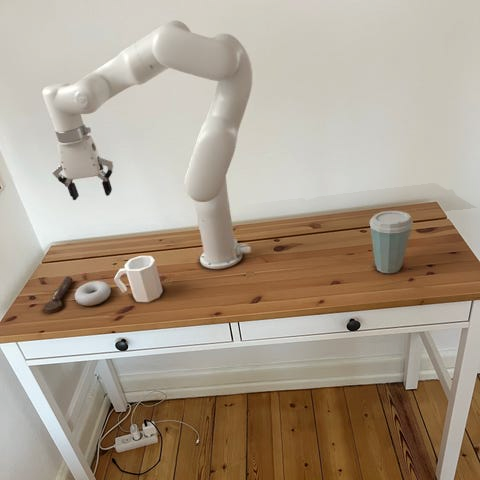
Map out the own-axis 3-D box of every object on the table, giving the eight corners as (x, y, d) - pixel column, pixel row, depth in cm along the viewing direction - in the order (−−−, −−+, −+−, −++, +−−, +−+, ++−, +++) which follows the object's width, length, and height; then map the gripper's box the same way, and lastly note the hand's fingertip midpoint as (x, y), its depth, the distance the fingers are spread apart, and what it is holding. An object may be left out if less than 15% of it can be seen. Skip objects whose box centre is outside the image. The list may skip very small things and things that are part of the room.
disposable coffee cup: (362, 263, 147) (362, 212, 138) (398, 254, 148) (400, 203, 139) (379, 281, 138) (380, 228, 129) (418, 271, 139) (421, 218, 131)
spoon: (63, 282, 161) (60, 275, 159) (78, 281, 160) (76, 274, 159) (42, 313, 148) (39, 306, 146) (59, 312, 147) (56, 305, 146)
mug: (162, 283, 152) (155, 253, 147) (162, 299, 145) (154, 268, 139) (121, 291, 152) (111, 260, 146) (118, 307, 145) (108, 276, 139)
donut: (97, 310, 145) (119, 290, 152) (93, 300, 143) (115, 280, 150) (69, 305, 149) (91, 286, 156) (65, 295, 147) (88, 276, 154)
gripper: (107, 125, 142) (125, 187, 152) (46, 135, 144) (67, 194, 154) (99, 134, 136) (118, 197, 146) (35, 143, 138) (59, 205, 148)
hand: (92, 196), depth 150 cm, fingers open, 9 cm apart
